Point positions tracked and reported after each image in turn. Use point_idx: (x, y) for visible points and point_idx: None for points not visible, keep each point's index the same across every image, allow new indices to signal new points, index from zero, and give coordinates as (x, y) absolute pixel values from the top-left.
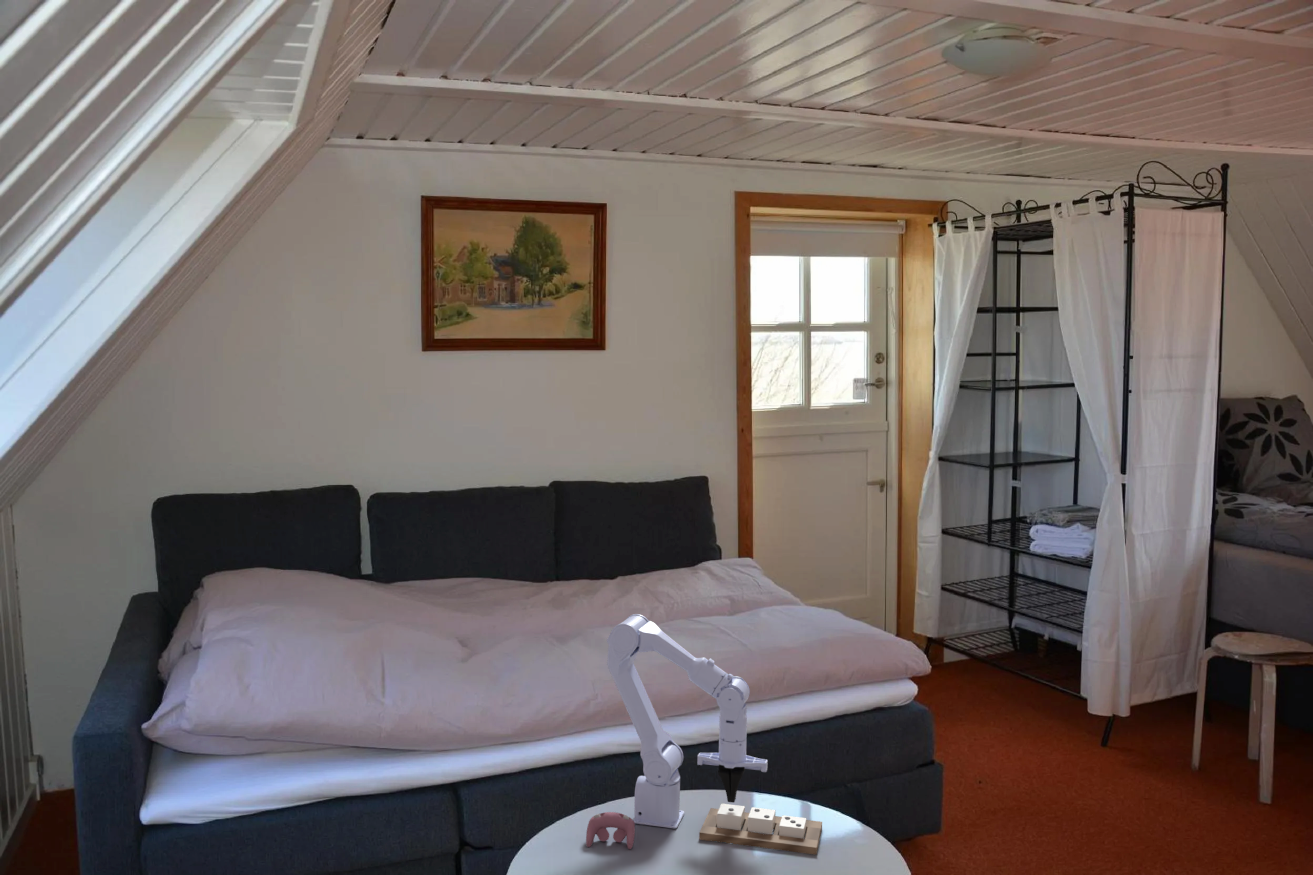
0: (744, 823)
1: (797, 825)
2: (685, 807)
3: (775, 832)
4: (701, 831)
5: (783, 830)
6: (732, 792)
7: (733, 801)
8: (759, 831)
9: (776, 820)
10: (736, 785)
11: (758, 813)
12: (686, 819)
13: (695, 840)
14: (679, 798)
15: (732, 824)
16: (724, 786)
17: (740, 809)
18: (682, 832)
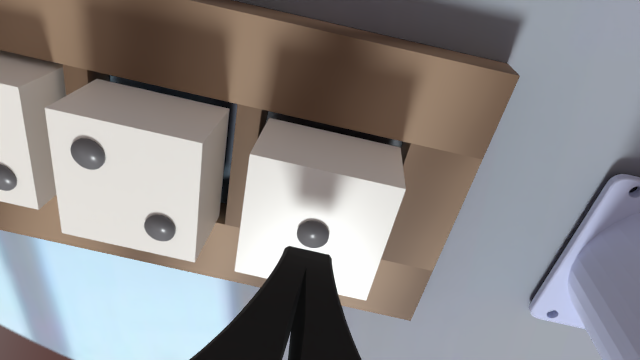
0: None
1: None
2: (508, 348)
3: None
4: (502, 90)
5: (12, 72)
6: (284, 294)
7: (288, 248)
8: (162, 96)
9: None
10: (229, 336)
11: (147, 193)
12: (528, 261)
13: (532, 49)
14: (622, 341)
15: (311, 139)
16: (353, 344)
17: (257, 237)
18: (585, 139)
